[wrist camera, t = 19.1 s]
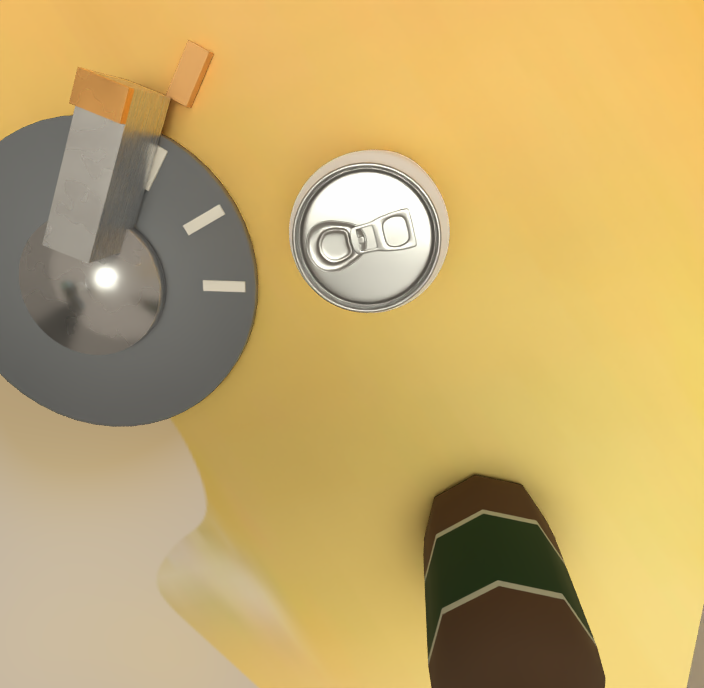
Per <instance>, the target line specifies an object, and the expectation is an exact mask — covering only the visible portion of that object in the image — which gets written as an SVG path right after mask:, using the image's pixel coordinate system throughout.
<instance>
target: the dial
mask: <svg viewBox="0 0 704 688" xmlns="http://www.w3.org/2000/svg"><path fill="white" fill-rule="evenodd" d="M170 99H171V97H168V96H166V95H164V94H161V93H159V92H156V91H154V90H151V89H149V88H146V87H144V86H141V85H139V84H137V83H134V82H132V81H129V80H126V79H122V78H118V77H115V76H111V75H107V74H103V73H99V72H95V71H91V70H87V69H84V68H80V67H78V68H77V72H76V77H75V81H74V85H73V89H72V94H71V98H70V102H69V103H70V104H72V105H75V110H74V114H73V118H72V122H71V126H70V131H69V135H68V139H67V143H66V147H65V152H64V156H63V160H62V164H61V168H60V173H59V177H58V181H57V185H56V189H55V193H54V198H53V202H52V206H51V210H50V214H49V219H48V221H47V222H45V223H44V224H43V225H41V226H40V227H39V228H38V229H37V230H36V231H35V232H34V233H33V234H32V235H31V237H30V238H29V240H28V241H27V243H26V245H25V247H24V249H23V252H22V255H21V258H20V264H19V285H20V290H21V294H22V298H23V300H24V303H25V305H26V307H27V309H28V311H29V313H30V315H31V316H32V318H33V319H34V321H35V322H36V323H37V325H38V326H39V327H40V328H41V329H42V330H43V331H44V332H45V333H46V334H47V335H48V336H49V337H51V338H52V339H53V340H54V341H56V342H58V343H59V344H61V345H62V346H64V347H67V348H69V349H71V350H74V351H77V352H80V353H85V354H90V355H107V354H112V353H116V352H119V351H122V350H125V349H126V348H128V347H130V346H132V345H133V344H135V343H136V342H138V341H139V340H140V339H142V338H143V337H145V336H146V335H147V334H148V333H149V332H150V331H151V330H152V328H153V327H154V326H155V324H156V323H157V321H158V319H159V317H160V315H161V313H162V310H163V306H164V302H165V294H166V284H165V277H164V272H163V268H162V265H161V262H160V260H159V258H158V256H157V254H156V252H155V250H154V249H153V247H152V246H151V244H150V243H149V242H148V240H147V239H146V238H145V237H144V236H143V235H142V234H141V233H140V232H139V231H138V230H137V229H136V228H134V227H135V224H136V220H137V217H138V213H139V210H140V206H141V202H142V199H143V195H144V192H145V188H146V185H147V181H148V178H149V174H150V171H151V167H152V163H153V160H154V156H155V153H156V149H157V146H158V142H159V139H160V135H161V131H162V128H163V124H164V121H165V117H166V114H167V110H168V107H169V103H170Z"/></svg>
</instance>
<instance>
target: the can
mask: <svg viewBox="0 0 704 688" xmlns="http://www.w3.org/2000/svg"><path fill="white" fill-rule="evenodd" d="M449 236H450V227H449V218H448V213H447V209H446V206H445V203H444V200H443V198H442V196H441V194H440V192H439V190H438V188H437V186H436V185H435V183H434V182H433V181H432V179H431V178H430V177H429V175H428V174H427V173H426V172H425V171H424V170H423V169H422V168H421V167H420V166H419V165H418V164H417V163H416V162H414V161H413V160H411V159H410V158H408V157H406V156H404V155H402V154H399V153H396V152H392V151H386V150H363V151H356V152H352V153H348V154H345V155H342V156H340V157H337V158H335V159H333V160H331V161H329V162H328V163H326V164H325V165H323V166H322V167H321V168H319V169H318V170H317V171H316V172H315V173H314V174H313V175H312V176H311V177H310V178H309V179H308V180H307V182H306V183H305V184H304V186H303V187H302V189H301V191H300V192H299V194H298V196H297V198H296V201H295V203H294V206H293V209H292V213H291V217H290V225H289V239H290V247H291V251H292V255H293V258H294V261H295V263H296V266H297V268H298V270H299V272H300V273H301V275H302V277H303V278H304V280H305V281H306V282H307V283H308V285H309V286H310V287H311V288H312V289H313V290H314V291H315V292H316V293H317V294H318V295H320V296H321V297H322V298H323V299H325V300H326V301H328V302H330V303H331V304H333V305H335V306H337V307H340V308H342V309H346V310H349V311H354V312H361V313H378V312H385V311H389V310H393V309H396V308H398V307H401V306H403V305H405V304H407V303H409V302H411V301H412V300H414V299H415V298H417V297H418V296H419V295H420V294H422V293H423V292H424V291H425V290H426V289H427V288H428V287H429V286H430V284H431V283H432V282H433V281H434V279H435V278H436V276H437V275H438V273H439V271H440V269H441V267H442V265H443V263H444V260H445V257H446V254H447V250H448V245H449Z"/></svg>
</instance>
